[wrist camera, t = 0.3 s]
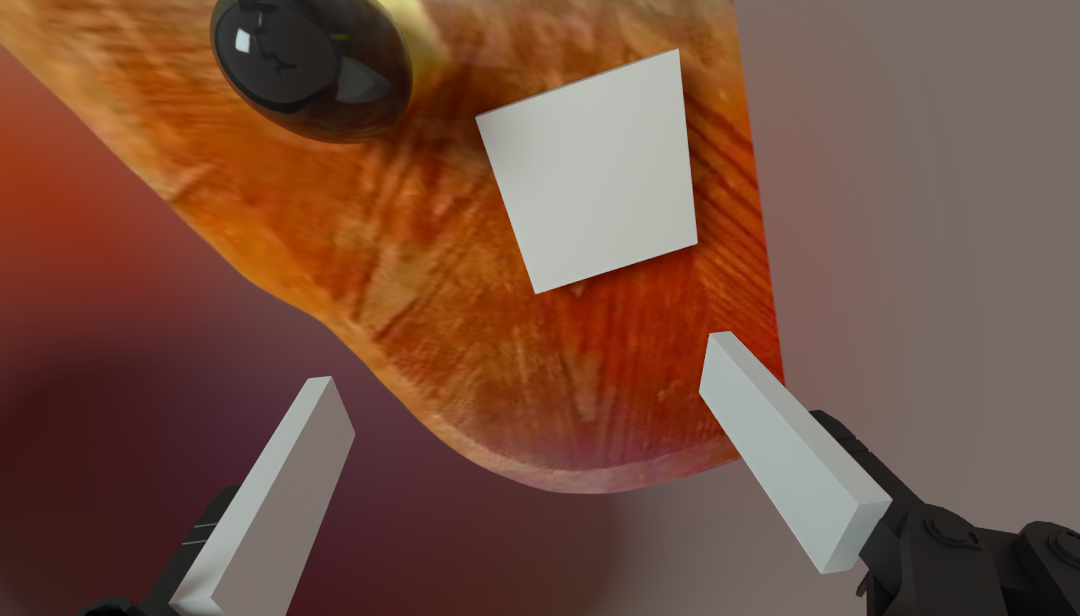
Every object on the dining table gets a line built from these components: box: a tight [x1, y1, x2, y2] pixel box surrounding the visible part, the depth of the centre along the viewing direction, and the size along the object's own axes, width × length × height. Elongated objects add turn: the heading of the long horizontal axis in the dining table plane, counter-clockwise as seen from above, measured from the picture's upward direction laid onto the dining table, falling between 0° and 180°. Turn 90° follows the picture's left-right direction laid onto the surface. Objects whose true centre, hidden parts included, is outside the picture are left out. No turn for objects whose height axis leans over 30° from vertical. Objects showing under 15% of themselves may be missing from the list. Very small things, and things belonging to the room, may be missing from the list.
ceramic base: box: [475, 49, 698, 294], centre depth 36 cm, size 16×16×4 cm
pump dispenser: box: [210, 0, 413, 144], centre depth 25 cm, size 10×10×15 cm
